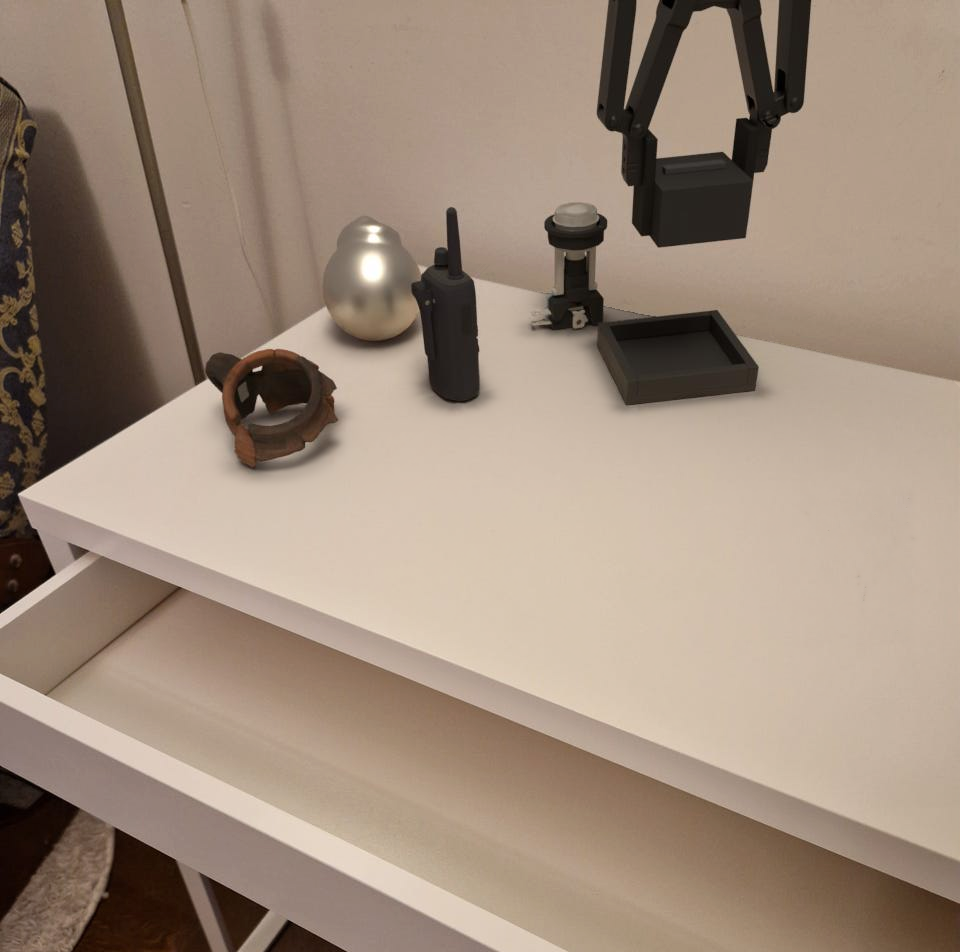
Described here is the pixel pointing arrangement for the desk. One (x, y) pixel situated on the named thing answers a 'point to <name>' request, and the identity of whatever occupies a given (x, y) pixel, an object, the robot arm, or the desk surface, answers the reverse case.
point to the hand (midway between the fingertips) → (689, 223)
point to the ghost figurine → (371, 281)
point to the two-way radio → (449, 320)
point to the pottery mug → (272, 400)
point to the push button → (574, 267)
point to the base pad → (675, 357)
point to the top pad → (699, 200)
